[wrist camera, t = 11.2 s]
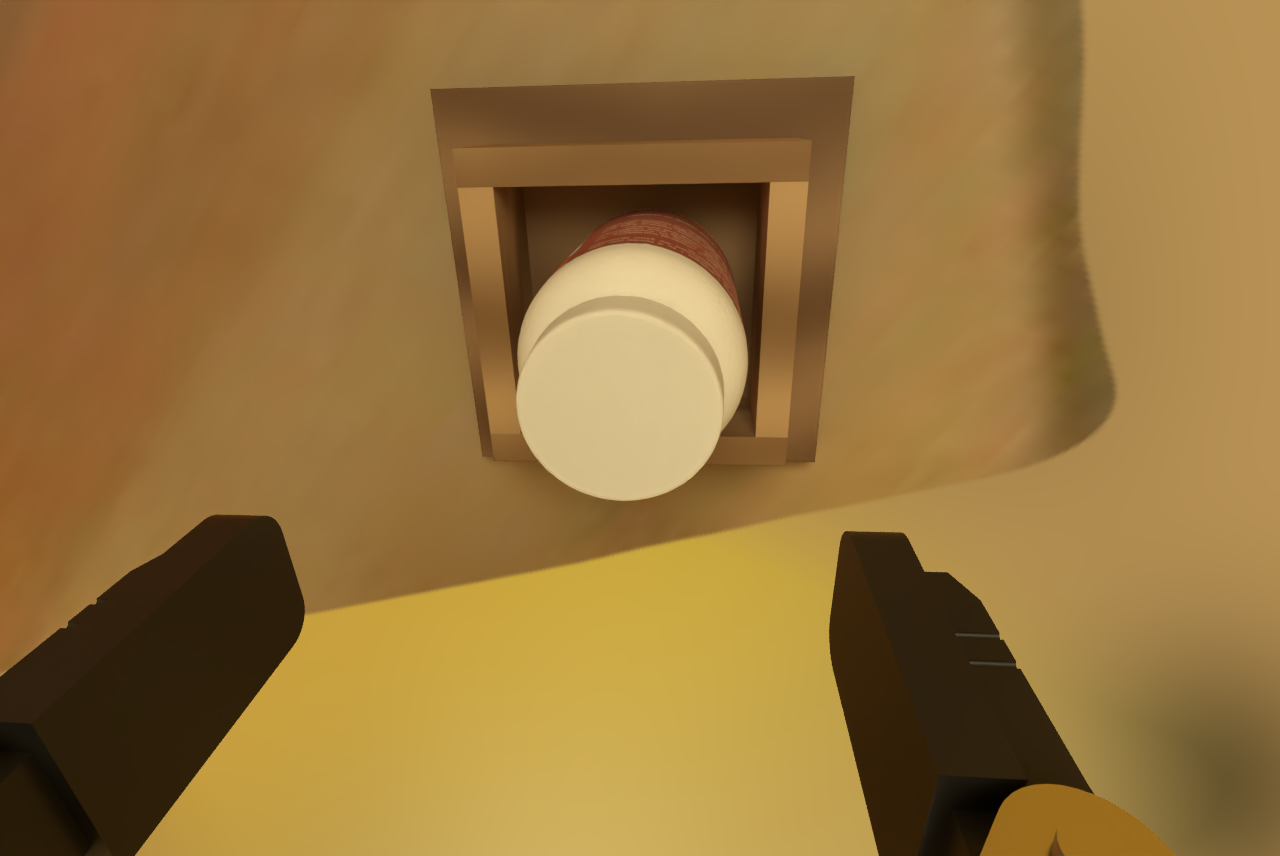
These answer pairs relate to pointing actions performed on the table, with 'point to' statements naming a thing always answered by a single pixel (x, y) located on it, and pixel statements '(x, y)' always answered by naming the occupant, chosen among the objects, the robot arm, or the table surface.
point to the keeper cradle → (663, 179)
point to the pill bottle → (632, 357)
